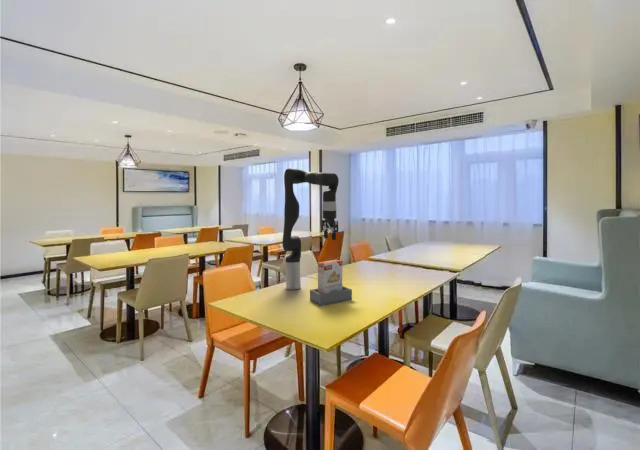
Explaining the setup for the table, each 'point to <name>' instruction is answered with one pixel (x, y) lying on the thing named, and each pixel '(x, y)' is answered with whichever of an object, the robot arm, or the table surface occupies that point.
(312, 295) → the bin
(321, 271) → the cracker box
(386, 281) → the table surface
